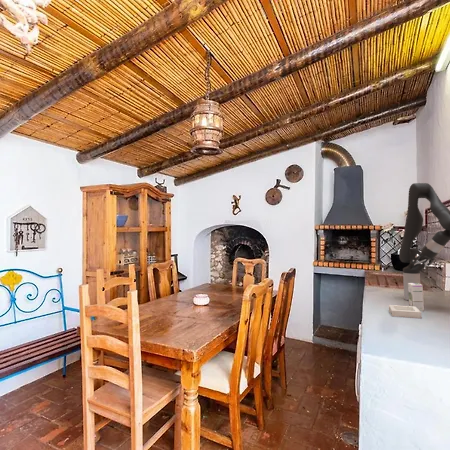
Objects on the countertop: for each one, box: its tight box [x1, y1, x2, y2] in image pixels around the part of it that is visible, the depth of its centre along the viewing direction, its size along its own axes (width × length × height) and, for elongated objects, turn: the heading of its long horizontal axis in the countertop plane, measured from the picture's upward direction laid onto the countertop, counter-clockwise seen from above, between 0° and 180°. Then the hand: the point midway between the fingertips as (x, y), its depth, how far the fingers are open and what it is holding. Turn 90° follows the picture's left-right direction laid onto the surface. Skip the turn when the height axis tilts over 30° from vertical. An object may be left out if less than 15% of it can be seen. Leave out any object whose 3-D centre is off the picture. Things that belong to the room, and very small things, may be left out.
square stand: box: [388, 304, 423, 319], centre depth 159 cm, size 13×13×3 cm
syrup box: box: [408, 283, 425, 312], centre depth 169 cm, size 6×6×14 cm
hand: (414, 269), depth 177 cm, fingers open, 8 cm apart
